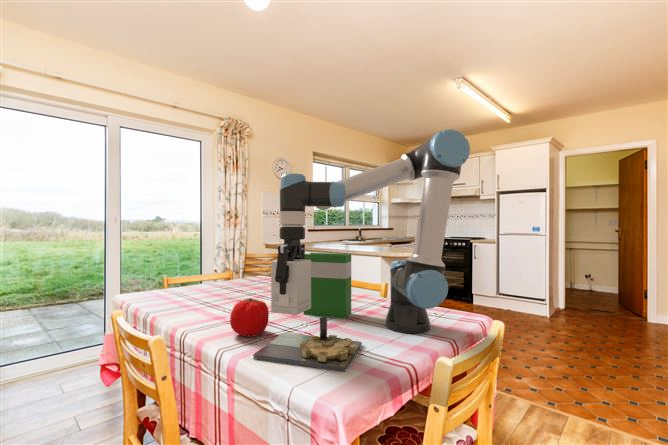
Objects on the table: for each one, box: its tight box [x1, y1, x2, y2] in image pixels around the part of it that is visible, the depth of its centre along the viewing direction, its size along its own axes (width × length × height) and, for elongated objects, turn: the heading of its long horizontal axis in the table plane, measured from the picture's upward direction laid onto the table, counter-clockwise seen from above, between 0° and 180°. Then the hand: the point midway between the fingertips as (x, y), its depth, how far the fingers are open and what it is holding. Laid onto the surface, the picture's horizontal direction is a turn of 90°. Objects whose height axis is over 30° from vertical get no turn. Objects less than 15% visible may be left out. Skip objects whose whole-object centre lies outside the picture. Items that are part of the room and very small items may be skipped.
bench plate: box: [253, 332, 363, 373], centre depth 90 cm, size 25×18×1 cm
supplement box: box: [270, 259, 311, 316], centre depth 96 cm, size 9×9×15 cm
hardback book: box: [303, 252, 352, 319], centre depth 129 cm, size 18×7×24 cm, turn 71°
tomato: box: [229, 298, 270, 338], centre depth 105 cm, size 12×13×12 cm
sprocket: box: [300, 316, 356, 362], centre depth 87 cm, size 15×15×8 cm
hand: (291, 301), depth 96 cm, fingers closed on supplement box, 9 cm apart
